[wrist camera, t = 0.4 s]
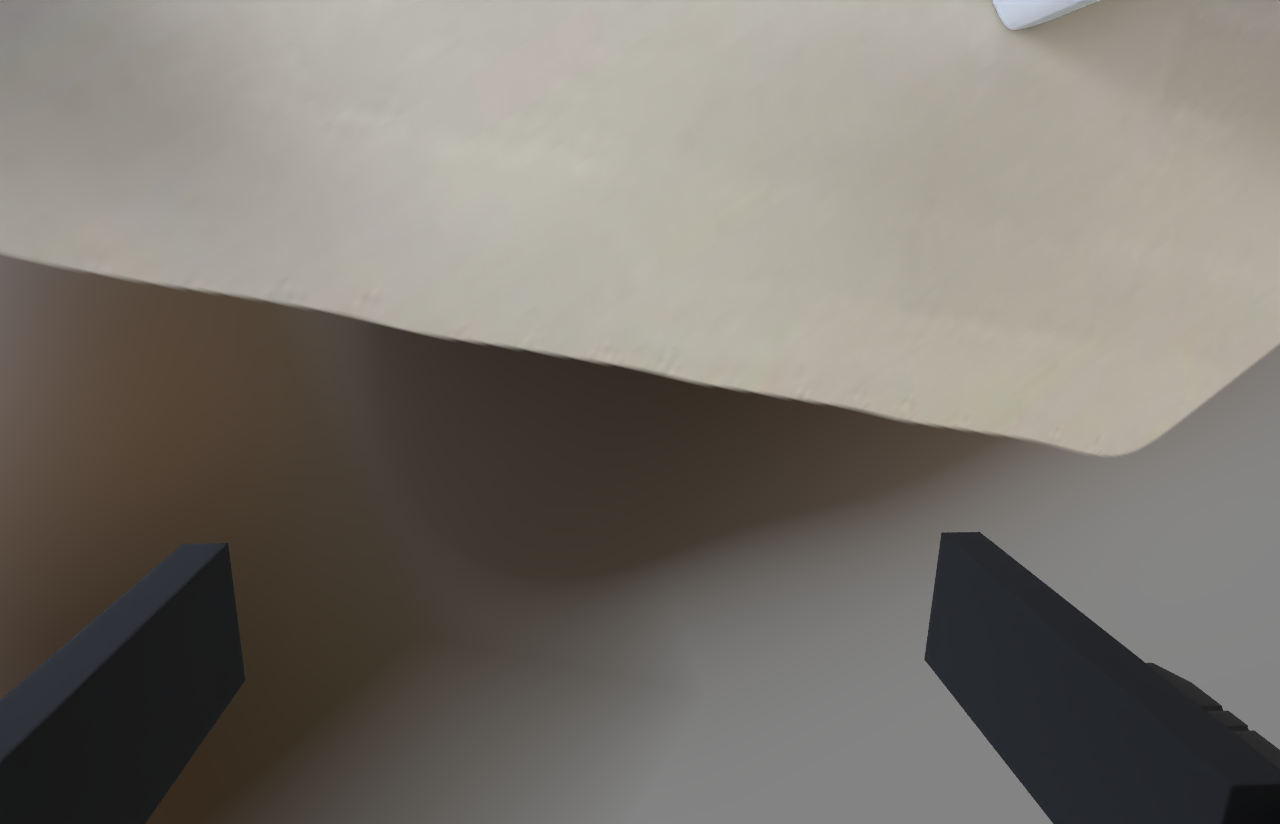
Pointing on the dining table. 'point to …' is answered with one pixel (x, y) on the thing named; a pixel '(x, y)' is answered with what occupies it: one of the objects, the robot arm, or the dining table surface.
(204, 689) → the robot arm
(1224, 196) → the dining table surface
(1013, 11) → the eye dropper bottle
